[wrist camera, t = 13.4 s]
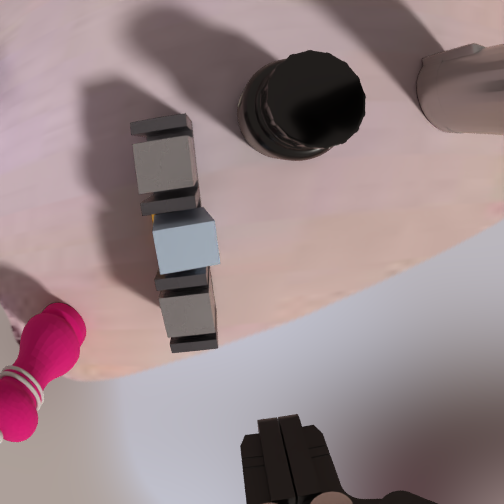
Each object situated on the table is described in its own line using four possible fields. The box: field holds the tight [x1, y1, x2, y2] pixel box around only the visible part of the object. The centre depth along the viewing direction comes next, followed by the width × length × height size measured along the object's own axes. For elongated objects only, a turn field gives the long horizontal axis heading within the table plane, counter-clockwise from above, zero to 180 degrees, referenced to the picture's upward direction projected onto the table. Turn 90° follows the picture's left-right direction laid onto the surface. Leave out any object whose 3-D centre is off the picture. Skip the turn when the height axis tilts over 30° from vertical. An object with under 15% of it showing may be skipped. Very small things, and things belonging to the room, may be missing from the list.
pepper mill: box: [0, 303, 86, 444], centre depth 25 cm, size 7×7×20 cm
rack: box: [130, 113, 218, 353], centre depth 29 cm, size 20×5×7 cm, turn 5°
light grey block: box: [152, 207, 220, 275], centre depth 28 cm, size 4×5×7 cm
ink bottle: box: [237, 50, 366, 161], centre depth 25 cm, size 10×9×12 cm
